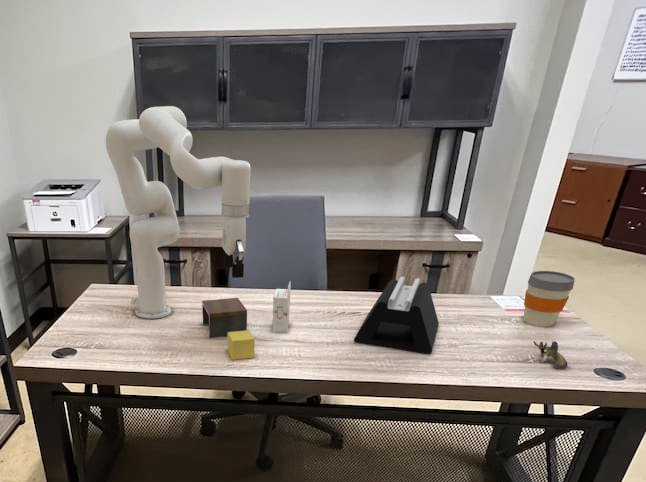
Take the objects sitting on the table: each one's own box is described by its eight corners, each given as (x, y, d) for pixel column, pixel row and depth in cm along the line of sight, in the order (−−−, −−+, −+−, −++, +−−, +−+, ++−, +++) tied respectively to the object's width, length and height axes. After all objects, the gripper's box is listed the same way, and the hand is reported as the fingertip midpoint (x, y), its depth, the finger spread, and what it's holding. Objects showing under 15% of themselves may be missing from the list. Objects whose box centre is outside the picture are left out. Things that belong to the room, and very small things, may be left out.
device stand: (438, 326, 172) (448, 281, 164) (431, 354, 154) (441, 305, 146) (367, 316, 180) (374, 273, 172) (353, 342, 162) (359, 295, 155)
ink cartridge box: (274, 322, 177) (276, 279, 170) (288, 323, 176) (291, 279, 169) (271, 332, 170) (273, 287, 162) (286, 333, 169) (289, 288, 162)
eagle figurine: (524, 353, 151) (549, 361, 143) (539, 331, 150) (565, 338, 141) (541, 365, 154) (567, 373, 145) (557, 343, 152) (583, 351, 144)
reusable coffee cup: (551, 331, 167) (567, 285, 159) (510, 321, 175) (523, 276, 167) (566, 321, 174) (582, 276, 166) (526, 311, 182) (539, 268, 174)
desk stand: (209, 337, 167) (209, 313, 163) (202, 323, 177) (202, 300, 173) (246, 334, 169) (247, 310, 165) (237, 320, 179) (237, 297, 175)
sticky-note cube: (232, 360, 153) (232, 340, 150) (227, 350, 159) (227, 332, 155) (254, 357, 154) (254, 338, 151) (248, 348, 160) (248, 330, 157)
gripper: (215, 204, 151) (215, 263, 160) (228, 218, 137) (227, 282, 146) (241, 203, 152) (239, 262, 161) (256, 216, 138) (253, 280, 147)
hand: (233, 271), depth 153 cm, fingers open, 9 cm apart
